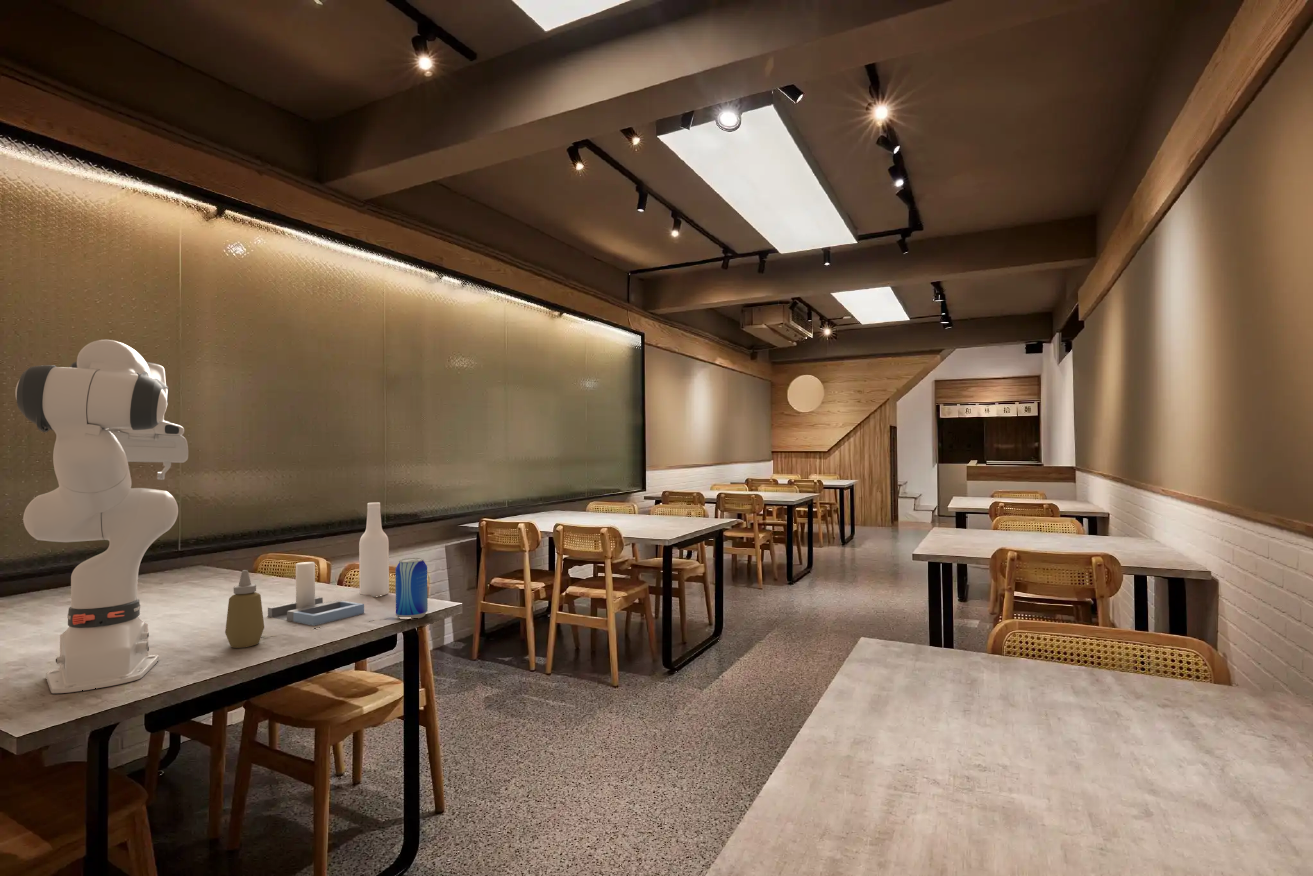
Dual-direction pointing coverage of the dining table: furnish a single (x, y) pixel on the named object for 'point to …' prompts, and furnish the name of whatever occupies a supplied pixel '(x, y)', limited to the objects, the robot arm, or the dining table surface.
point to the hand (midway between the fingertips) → (137, 479)
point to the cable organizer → (316, 611)
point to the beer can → (411, 588)
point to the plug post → (305, 584)
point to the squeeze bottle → (244, 614)
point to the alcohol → (374, 555)
